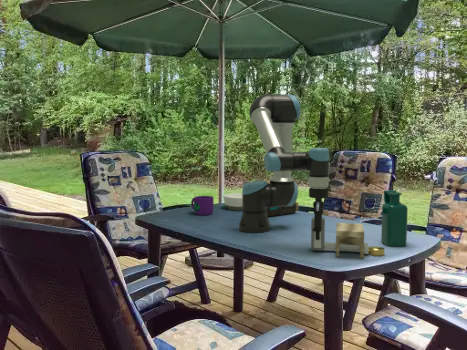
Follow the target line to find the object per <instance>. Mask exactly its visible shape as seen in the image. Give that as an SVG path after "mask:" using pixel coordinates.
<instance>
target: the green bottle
mask: <svg viewBox="0 0 467 350" xmlns="http://www.w3.org/2000/svg"><path fill="white" fill-rule="evenodd" d="M402 195H403V194H402V192H398V191H397V190H395V189H394V190H383V200H384V201H383V202H384V203H383V204H382V208H381V239H380V241H381V243H382V244H384V245H386V246H387V247H391V248H392V247H405V246H407V239H408V238H407V235H408V234H407V233H408V211H409V210H408V209H409V208H408V206H407V204H404V203H402V202H401V201H400V200H401V198H400V197H401V196H402Z"/></svg>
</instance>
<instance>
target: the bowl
mask: <svg viewBox="0 0 467 350" xmlns="http://www.w3.org/2000/svg"><path fill="white" fill-rule="evenodd" d="M222 197H223V201H224V204H225V206H226V208H227V210H229V211H234V212H235V211H236V212H243V209H242V192H231V193H226V194H224V195H223V196H222Z"/></svg>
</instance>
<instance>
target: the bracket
mask: <svg viewBox="0 0 467 350" xmlns="http://www.w3.org/2000/svg"><path fill="white" fill-rule="evenodd" d="M312 230H314V216H313V217H312V218H311V230H310V231H311V232H310V234H311V235H310V236H311V237H310V239H311V240H310V242H311V243H310V245H311V246H310V250H311V251H320V252H323V251H324V252H325V251H335V252H336V242H330V241H329V242H327V241H326V238H325V237H326V235H325V234H326V232H325V231H326V217H322V218H321V248H314V231H312ZM369 247H370V246H369V244H368V243H367V242H364V255H369V254H368V253H369ZM339 252H353V253H360V244H349V243H339Z"/></svg>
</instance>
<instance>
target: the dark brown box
mask: <svg viewBox="0 0 467 350" xmlns="http://www.w3.org/2000/svg"><path fill="white" fill-rule="evenodd" d="M298 211H299V202H297V201H296V202H295V204H294V205H292V206H286V207H267V209H266V213H267V217H268V218H269V217H281V216H283V215H285V216H286V215H290V214H294V213H296V212H298Z"/></svg>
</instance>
